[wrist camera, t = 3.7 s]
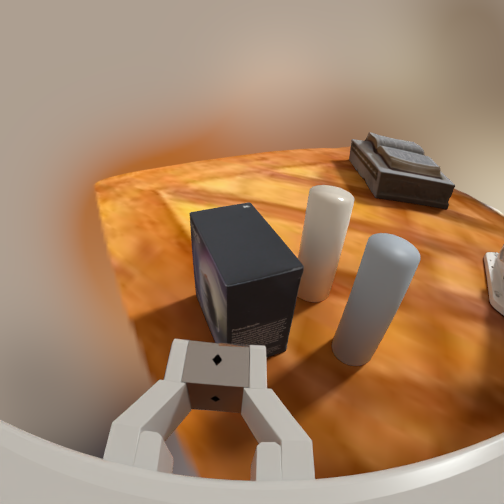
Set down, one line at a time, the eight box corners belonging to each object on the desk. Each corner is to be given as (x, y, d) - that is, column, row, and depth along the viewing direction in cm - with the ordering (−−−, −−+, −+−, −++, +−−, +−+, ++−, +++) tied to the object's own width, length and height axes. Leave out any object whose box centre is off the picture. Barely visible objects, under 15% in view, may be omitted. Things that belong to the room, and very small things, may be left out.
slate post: (335, 326, 31) (368, 228, 24) (374, 337, 30) (417, 242, 23) (327, 359, 27) (365, 257, 20) (370, 370, 26) (422, 273, 19)
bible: (422, 174, 77) (431, 143, 72) (452, 218, 56) (466, 177, 50) (347, 156, 81) (352, 123, 75) (353, 195, 59) (362, 149, 54)
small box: (191, 294, 34) (185, 209, 28) (246, 282, 36) (252, 200, 30) (223, 371, 26) (222, 284, 20) (288, 351, 28) (309, 264, 22)
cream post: (297, 272, 38) (314, 181, 31) (332, 282, 37) (355, 191, 30) (288, 295, 34) (305, 197, 27) (325, 306, 33) (352, 209, 26)
